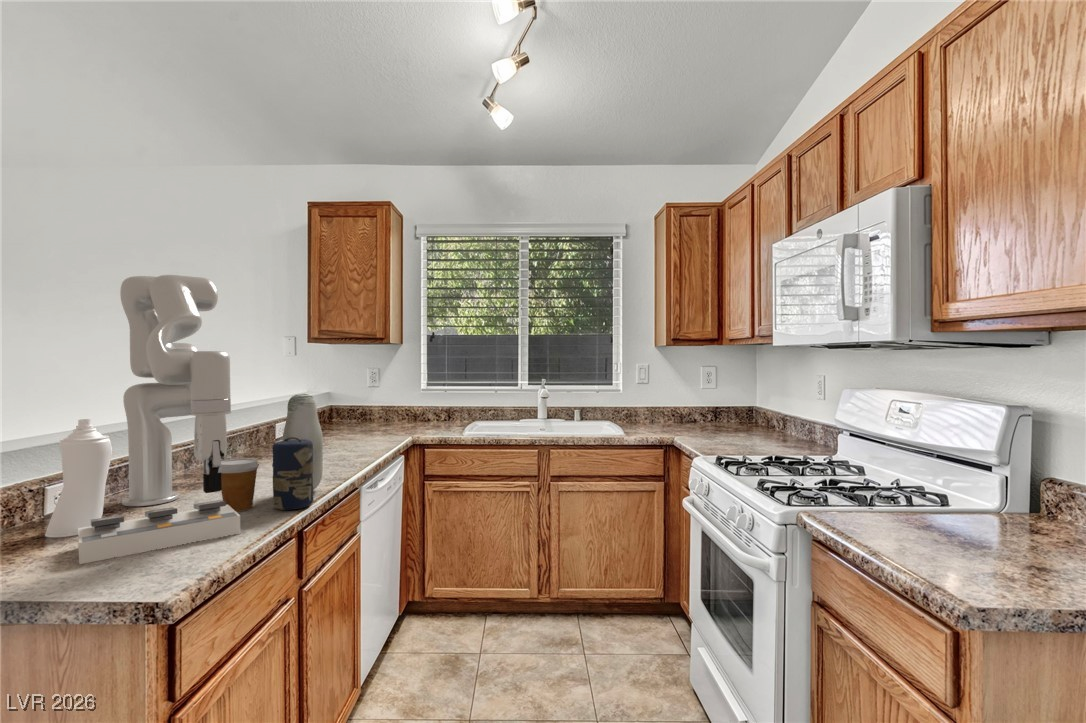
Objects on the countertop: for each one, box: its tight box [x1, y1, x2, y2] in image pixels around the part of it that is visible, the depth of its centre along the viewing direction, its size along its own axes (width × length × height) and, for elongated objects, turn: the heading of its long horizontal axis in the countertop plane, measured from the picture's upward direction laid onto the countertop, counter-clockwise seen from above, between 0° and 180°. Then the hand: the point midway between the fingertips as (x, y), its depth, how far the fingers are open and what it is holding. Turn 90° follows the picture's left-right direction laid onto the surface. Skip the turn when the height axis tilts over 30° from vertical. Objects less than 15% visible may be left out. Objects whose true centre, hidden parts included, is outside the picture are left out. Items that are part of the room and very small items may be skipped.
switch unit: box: [77, 505, 241, 565], centre depth 117 cm, size 12×27×5 cm, turn 131°
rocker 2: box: [193, 499, 226, 510], centre depth 124 cm, size 7×5×1 cm
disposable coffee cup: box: [220, 457, 260, 512], centre depth 142 cm, size 10×10×12 cm
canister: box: [271, 437, 314, 511], centre depth 143 cm, size 10×10×18 cm
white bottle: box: [44, 418, 113, 538], centre depth 124 cm, size 12×11×25 cm
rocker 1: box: [91, 514, 125, 527], centre depth 113 cm, size 7×5×1 cm
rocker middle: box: [144, 506, 178, 518], centre depth 119 cm, size 7×5×1 cm
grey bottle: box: [282, 393, 324, 491], centre depth 158 cm, size 10×10×28 cm
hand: (212, 491), depth 122 cm, fingers closed
